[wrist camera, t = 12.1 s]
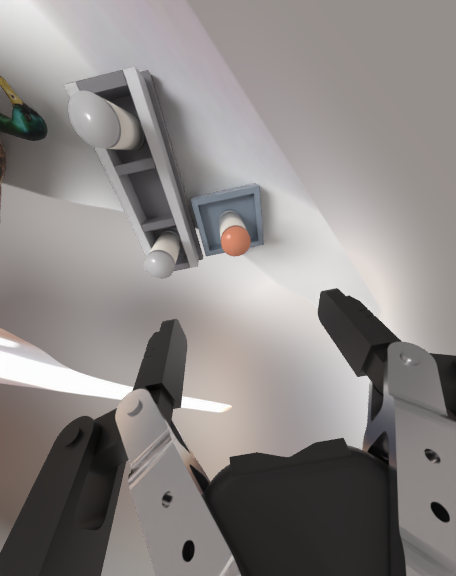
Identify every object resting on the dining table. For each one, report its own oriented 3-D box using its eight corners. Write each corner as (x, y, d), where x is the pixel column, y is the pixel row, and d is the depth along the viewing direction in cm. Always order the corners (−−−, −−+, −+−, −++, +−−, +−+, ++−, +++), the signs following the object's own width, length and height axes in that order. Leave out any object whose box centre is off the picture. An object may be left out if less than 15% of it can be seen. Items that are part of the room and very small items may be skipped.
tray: (206, 249, 34) (206, 256, 32) (192, 197, 29) (190, 200, 27) (260, 238, 33) (263, 244, 31) (255, 183, 28) (259, 185, 26)
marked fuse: (220, 234, 31) (224, 258, 24) (216, 212, 29) (218, 231, 22) (242, 229, 31) (252, 253, 24) (238, 207, 29) (248, 225, 22)
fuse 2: (164, 252, 32) (151, 280, 25) (156, 231, 30) (138, 256, 23) (185, 248, 32) (177, 275, 25) (177, 227, 30) (167, 250, 23)
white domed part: (123, 153, 24) (85, 152, 17) (108, 116, 22) (57, 96, 15) (150, 147, 24) (124, 143, 17) (137, 108, 22) (101, 85, 15)
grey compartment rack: (158, 265, 35) (152, 278, 31) (79, 91, 22) (53, 78, 18) (203, 256, 34) (202, 268, 31) (150, 74, 21) (138, 57, 18)
